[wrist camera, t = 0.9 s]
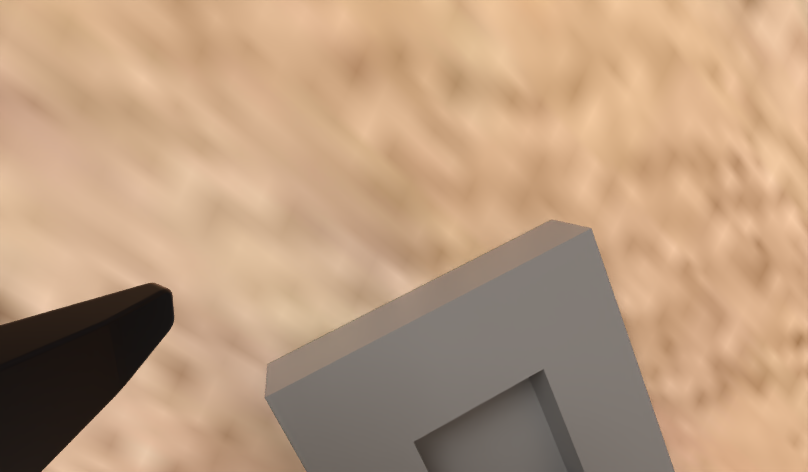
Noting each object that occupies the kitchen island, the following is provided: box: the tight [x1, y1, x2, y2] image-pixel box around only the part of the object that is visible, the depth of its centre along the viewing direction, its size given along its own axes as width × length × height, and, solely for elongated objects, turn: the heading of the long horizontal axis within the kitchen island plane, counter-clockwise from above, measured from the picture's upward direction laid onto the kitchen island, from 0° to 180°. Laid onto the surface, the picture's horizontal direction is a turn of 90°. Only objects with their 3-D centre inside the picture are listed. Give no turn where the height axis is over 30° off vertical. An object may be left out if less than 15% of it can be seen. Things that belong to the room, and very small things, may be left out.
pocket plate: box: [265, 220, 675, 472], centre depth 22 cm, size 14×18×3 cm
